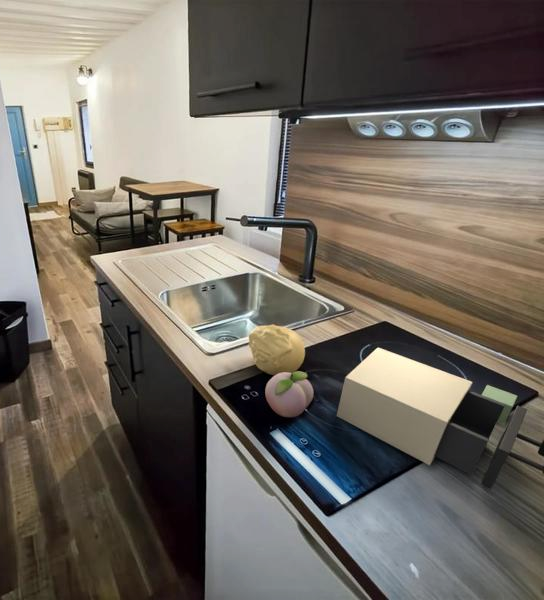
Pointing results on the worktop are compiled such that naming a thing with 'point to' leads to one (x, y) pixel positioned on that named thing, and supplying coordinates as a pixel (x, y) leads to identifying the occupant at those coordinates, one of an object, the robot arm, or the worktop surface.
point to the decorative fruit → (289, 393)
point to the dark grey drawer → (481, 436)
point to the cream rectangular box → (401, 402)
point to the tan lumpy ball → (276, 349)
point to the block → (501, 400)
